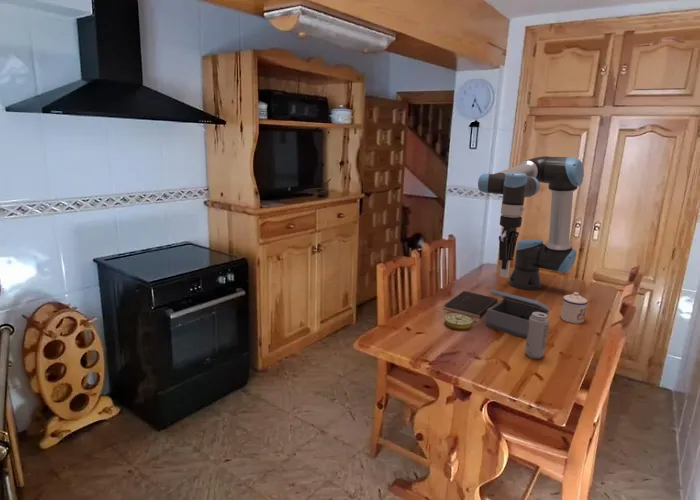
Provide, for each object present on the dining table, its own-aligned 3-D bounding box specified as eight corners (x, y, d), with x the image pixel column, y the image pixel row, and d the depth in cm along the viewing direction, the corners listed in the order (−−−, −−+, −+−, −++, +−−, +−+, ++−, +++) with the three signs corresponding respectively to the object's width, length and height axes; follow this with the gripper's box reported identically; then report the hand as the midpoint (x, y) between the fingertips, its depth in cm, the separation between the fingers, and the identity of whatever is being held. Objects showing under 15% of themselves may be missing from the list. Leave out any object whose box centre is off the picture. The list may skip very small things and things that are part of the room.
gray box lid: (503, 298, 188) (504, 295, 188) (549, 310, 176) (550, 307, 176) (489, 291, 175) (490, 288, 175) (537, 304, 163) (538, 301, 163)
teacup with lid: (580, 326, 180) (585, 298, 177) (556, 319, 186) (560, 292, 183) (589, 317, 188) (593, 291, 185) (566, 311, 194) (570, 285, 191)
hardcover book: (443, 310, 194) (443, 305, 193) (463, 295, 212) (463, 290, 211) (480, 319, 185) (480, 314, 184) (497, 303, 203) (497, 298, 203)
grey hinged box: (502, 314, 189) (504, 299, 188) (546, 327, 178) (548, 310, 176) (485, 325, 178) (487, 309, 176) (531, 340, 166) (533, 322, 164)
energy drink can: (526, 349, 159) (531, 309, 155) (544, 354, 156) (550, 313, 152) (523, 356, 154) (528, 315, 150) (542, 361, 151) (548, 319, 147)
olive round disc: (461, 318, 184) (462, 310, 183) (477, 329, 175) (478, 320, 174) (439, 322, 181) (440, 313, 180) (454, 333, 171) (455, 323, 170)
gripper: (514, 219, 159) (506, 282, 165) (528, 214, 168) (520, 275, 174) (493, 216, 164) (487, 278, 170) (508, 212, 173) (501, 271, 179)
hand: (504, 276), depth 172 cm, fingers closed
